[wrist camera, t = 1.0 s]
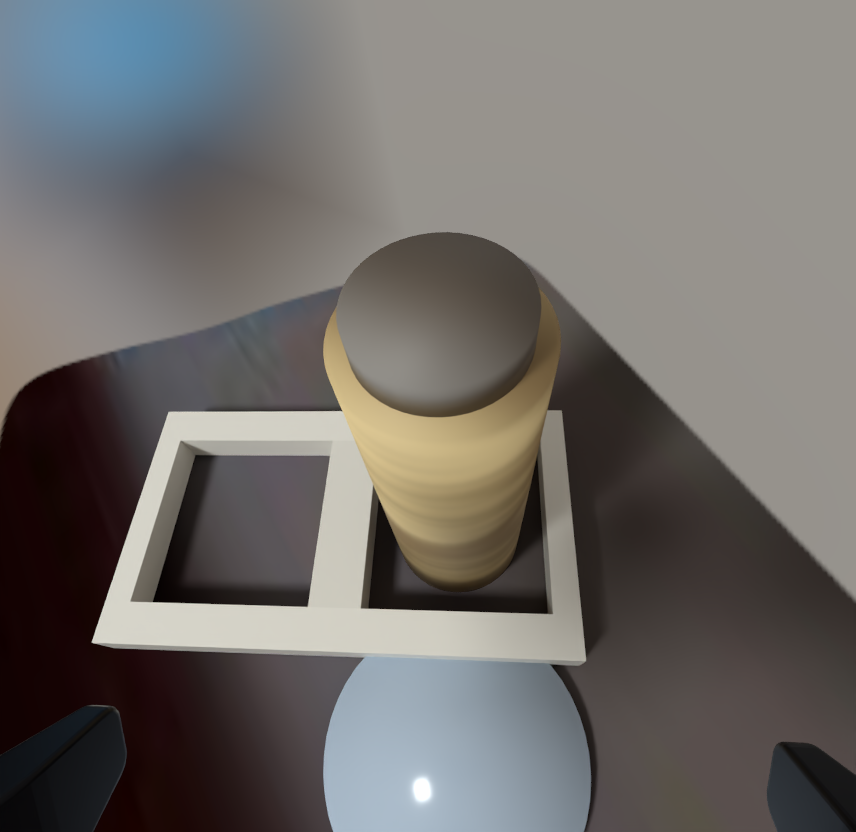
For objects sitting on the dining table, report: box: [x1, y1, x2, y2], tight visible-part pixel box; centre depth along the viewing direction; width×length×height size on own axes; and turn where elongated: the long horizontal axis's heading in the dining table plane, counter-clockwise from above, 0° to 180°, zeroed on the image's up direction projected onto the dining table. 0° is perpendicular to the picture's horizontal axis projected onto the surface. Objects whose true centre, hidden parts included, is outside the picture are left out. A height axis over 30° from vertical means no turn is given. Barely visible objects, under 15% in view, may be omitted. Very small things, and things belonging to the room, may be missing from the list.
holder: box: [92, 410, 586, 666], centre depth 22 cm, size 10×18×2 cm, turn 87°
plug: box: [323, 232, 561, 592], centre depth 16 cm, size 5×5×14 cm
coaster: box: [323, 656, 591, 832], centre depth 18 cm, size 9×9×1 cm
